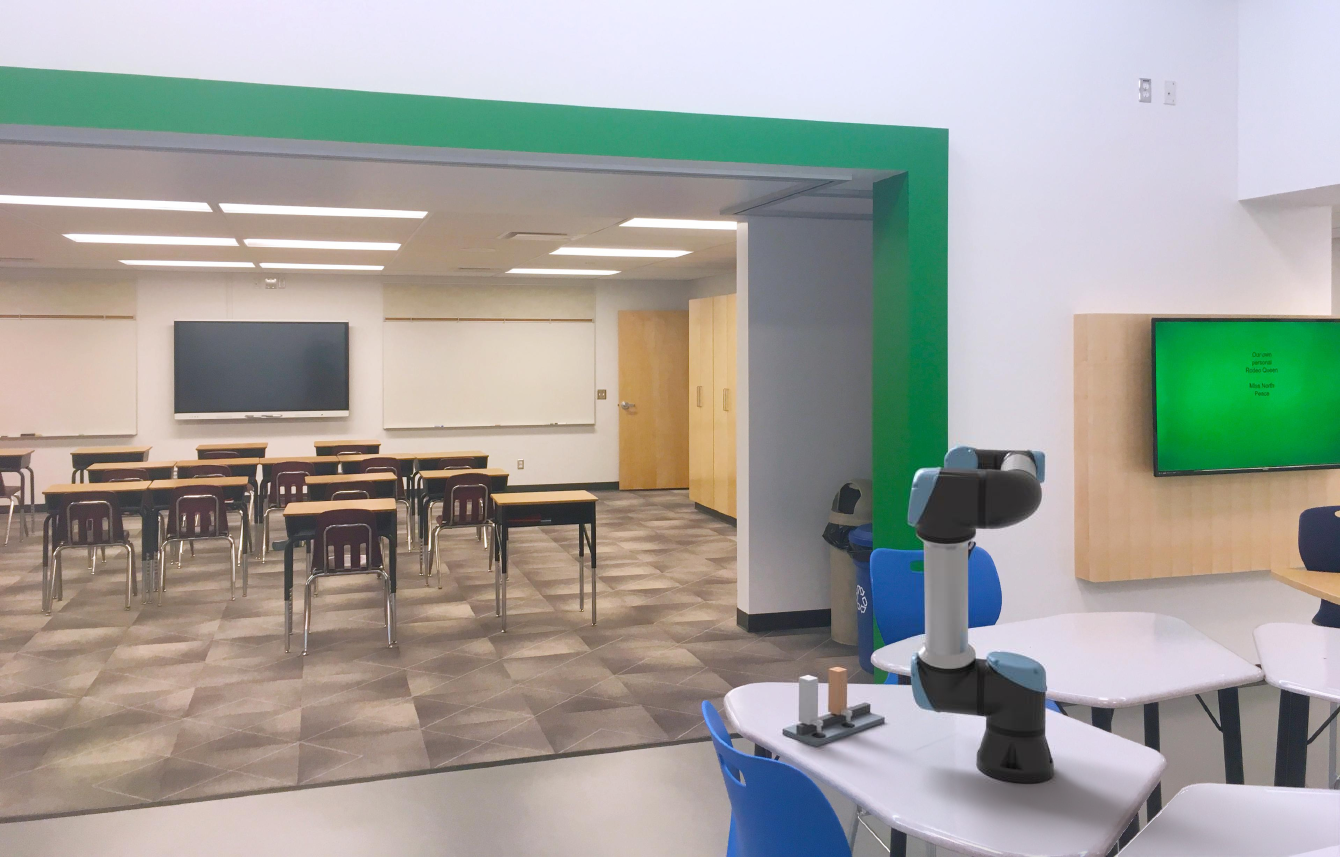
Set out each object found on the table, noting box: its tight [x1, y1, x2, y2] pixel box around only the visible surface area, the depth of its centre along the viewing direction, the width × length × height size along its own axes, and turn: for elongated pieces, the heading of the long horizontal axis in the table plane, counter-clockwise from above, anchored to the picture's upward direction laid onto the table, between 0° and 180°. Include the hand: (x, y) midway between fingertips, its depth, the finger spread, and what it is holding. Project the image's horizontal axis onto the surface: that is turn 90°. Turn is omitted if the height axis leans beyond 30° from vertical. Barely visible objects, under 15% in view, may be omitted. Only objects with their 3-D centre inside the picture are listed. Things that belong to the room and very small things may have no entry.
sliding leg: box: [827, 666, 852, 722], centre depth 231 cm, size 3×5×11 cm, turn 40°
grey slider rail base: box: [782, 674, 886, 747], centre depth 231 cm, size 24×10×14 cm, turn 130°
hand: (942, 607), depth 240 cm, fingers closed
